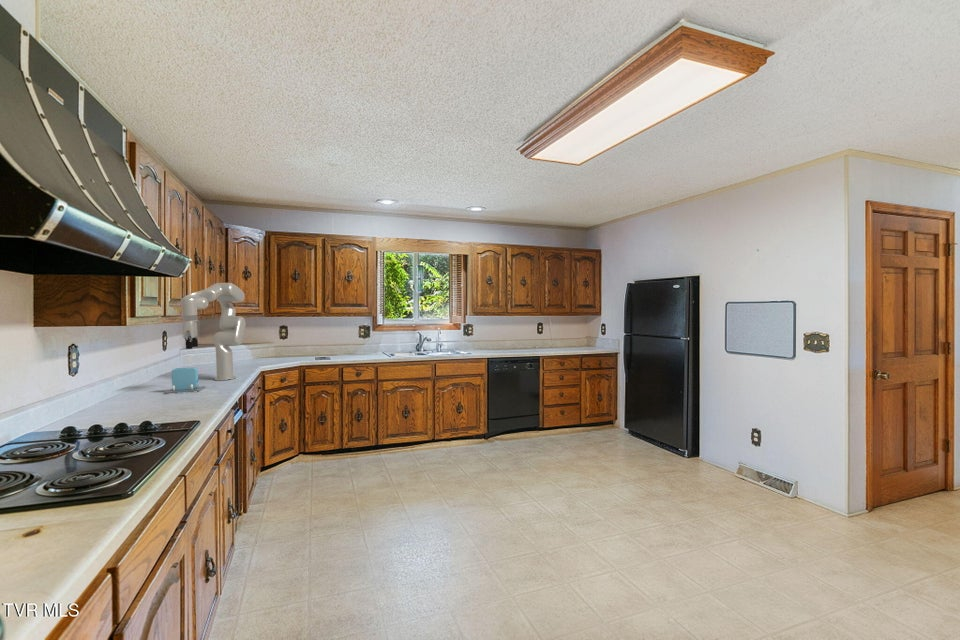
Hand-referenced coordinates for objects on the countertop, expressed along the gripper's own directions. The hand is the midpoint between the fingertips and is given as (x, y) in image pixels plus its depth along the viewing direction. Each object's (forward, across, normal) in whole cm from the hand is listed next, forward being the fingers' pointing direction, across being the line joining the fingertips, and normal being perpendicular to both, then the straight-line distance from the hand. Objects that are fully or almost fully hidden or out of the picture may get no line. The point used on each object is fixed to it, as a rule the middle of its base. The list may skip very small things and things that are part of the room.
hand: (192, 347), depth 267 cm
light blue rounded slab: (+23, +7, -2) cm, 24 cm away
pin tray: (+24, +8, -3) cm, 25 cm away
